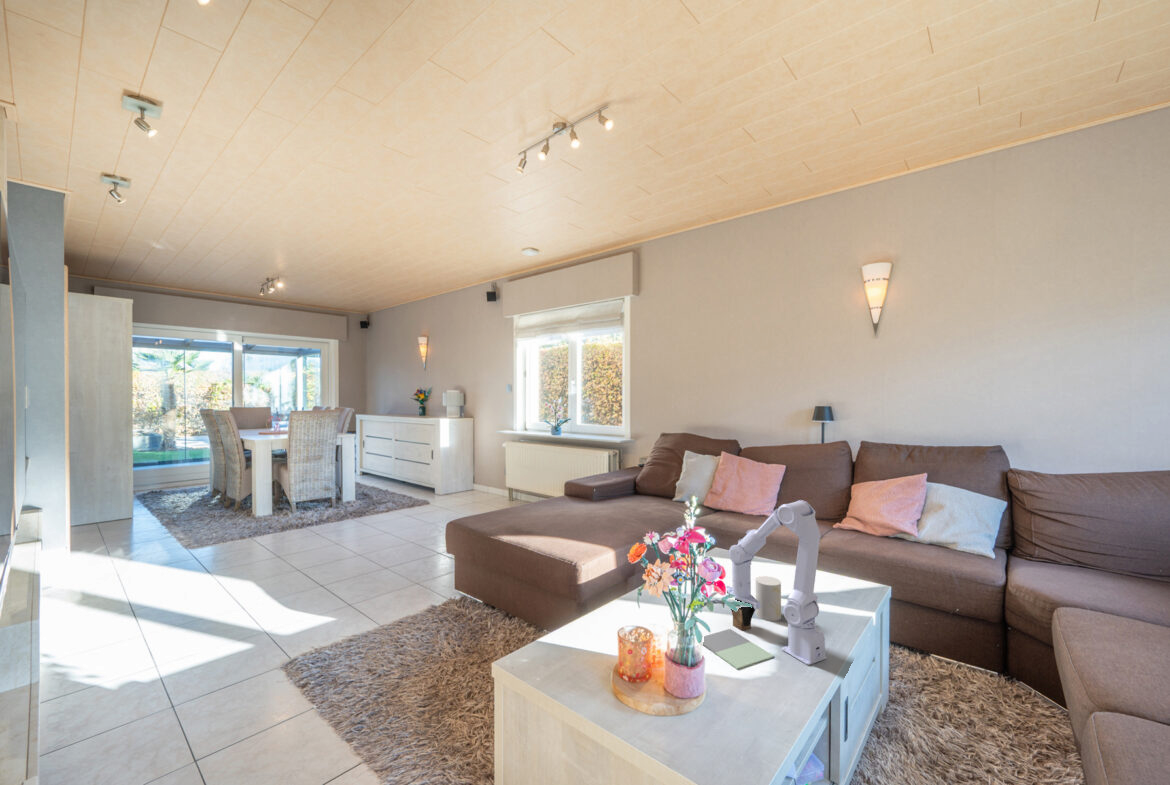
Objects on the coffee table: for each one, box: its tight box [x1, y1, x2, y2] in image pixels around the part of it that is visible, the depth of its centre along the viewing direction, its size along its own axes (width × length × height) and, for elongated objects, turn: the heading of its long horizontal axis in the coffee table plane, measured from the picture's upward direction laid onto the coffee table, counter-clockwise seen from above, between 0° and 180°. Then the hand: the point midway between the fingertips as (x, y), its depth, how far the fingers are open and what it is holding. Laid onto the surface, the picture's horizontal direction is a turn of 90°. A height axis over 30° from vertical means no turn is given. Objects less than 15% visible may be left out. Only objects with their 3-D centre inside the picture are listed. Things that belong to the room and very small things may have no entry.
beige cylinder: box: [755, 575, 782, 622], centre depth 166 cm, size 8×8×12 cm
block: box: [732, 608, 752, 632], centre depth 158 cm, size 4×4×6 cm
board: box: [702, 628, 775, 670], centre depth 144 cm, size 18×14×1 cm
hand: (741, 622), depth 158 cm, fingers closed on block, 4 cm apart
